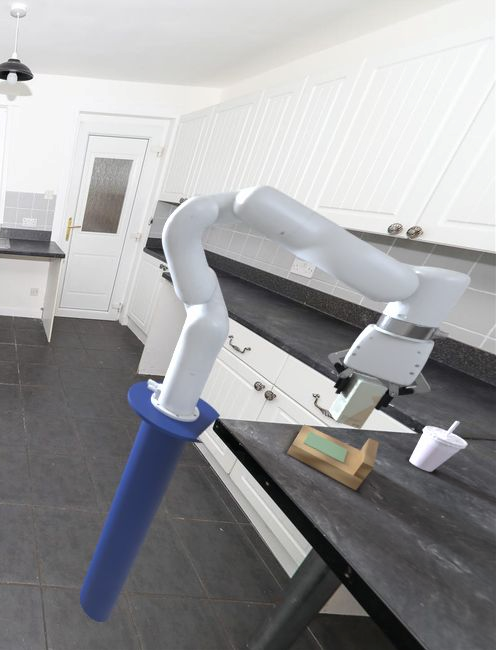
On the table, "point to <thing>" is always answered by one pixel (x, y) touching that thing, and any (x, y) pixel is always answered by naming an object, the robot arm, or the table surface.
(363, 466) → the wooden sharpening stone holder
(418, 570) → the table surface
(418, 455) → the smoothie
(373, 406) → the box
